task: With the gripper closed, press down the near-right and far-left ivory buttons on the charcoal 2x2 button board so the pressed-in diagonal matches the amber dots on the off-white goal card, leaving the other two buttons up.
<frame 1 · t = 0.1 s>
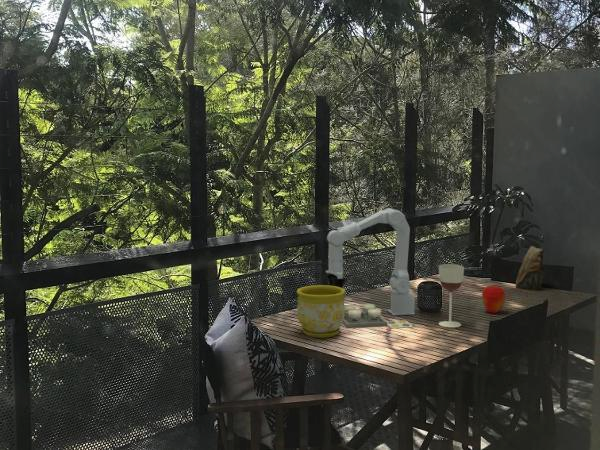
hand: (335, 292, 261), 10 cm above the table, fingers open, 7 cm apart
flower pot: (334, 311, 272), on the table
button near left: (374, 314, 250), point 4 cm above the table, slide at 0.0 cm
goal card: (398, 324, 249), on the table
wineglass: (450, 324, 250), on the table
button near right: (368, 309, 258), point 4 cm above the table, slide at 0.0 cm
flowerpot: (321, 333, 239), on the table
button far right: (349, 310, 257), point 4 cm above the table, slide at 0.0 cm
apple: (493, 312, 268), on the table
button board: (361, 321, 254), on the table
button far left: (354, 315, 249), point 4 cm above the table, slide at 0.0 cm
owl: (527, 288, 313), on the table
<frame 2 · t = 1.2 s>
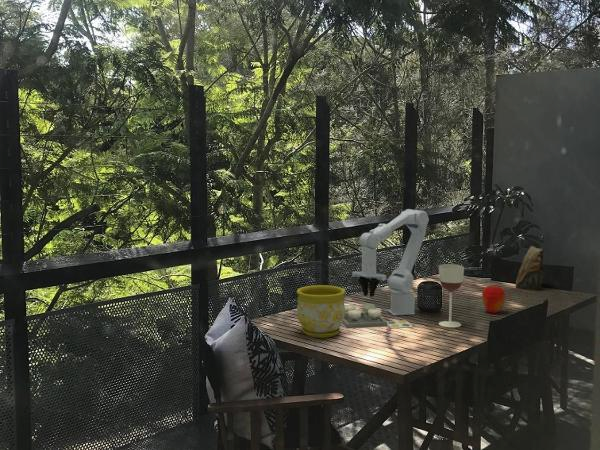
hand: (368, 295, 258), 9 cm above the table, fingers closed
nothing on the table moved.
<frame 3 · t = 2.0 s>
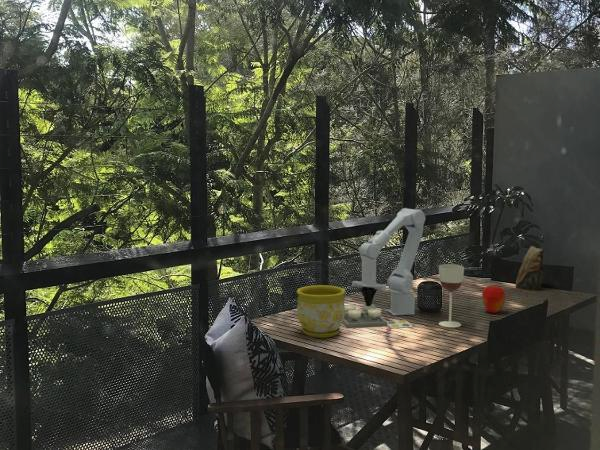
hand: (368, 305, 258), 5 cm above the table, fingers closed, pressing on button near right
button near right: (368, 309, 258), point 4 cm above the table, slide at -0.1 cm, touching gripper
everything else where it was.
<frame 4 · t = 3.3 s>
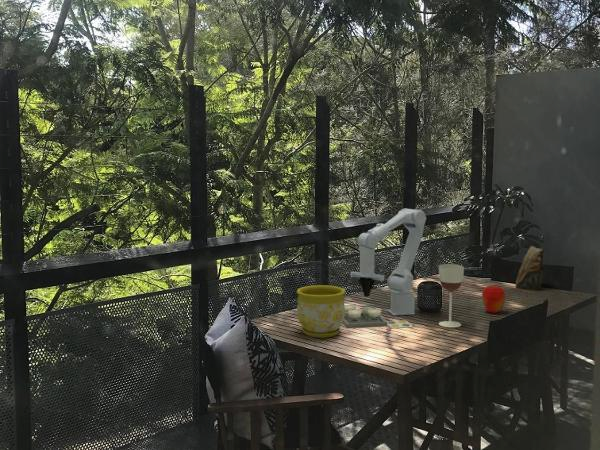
hand: (366, 296, 256), 10 cm above the table, fingers closed
button near right: (368, 312, 258), point 2 cm above the table, slide at -1.4 cm
everything else where it was.
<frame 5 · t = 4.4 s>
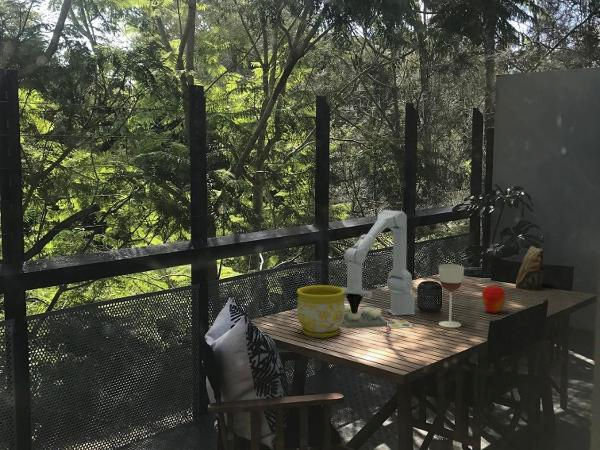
hand: (354, 312, 249), 5 cm above the table, fingers closed, pressing on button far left
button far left: (354, 317, 249), point 3 cm above the table, slide at -0.7 cm, touching gripper
everything else where it was.
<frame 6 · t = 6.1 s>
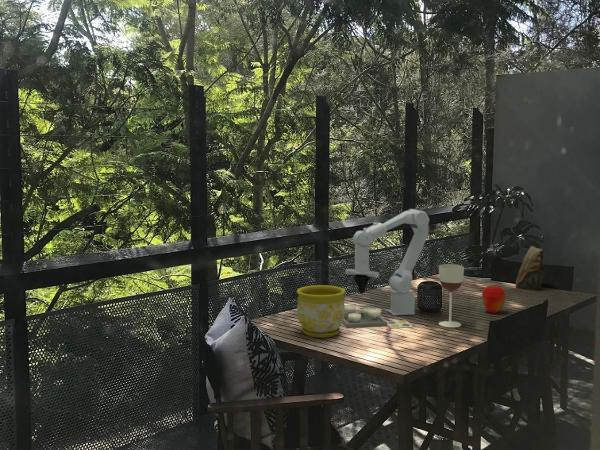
hand: (362, 293, 261), 10 cm above the table, fingers closed
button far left: (354, 319, 249), point 2 cm above the table, slide at -1.4 cm
everything else where it was.
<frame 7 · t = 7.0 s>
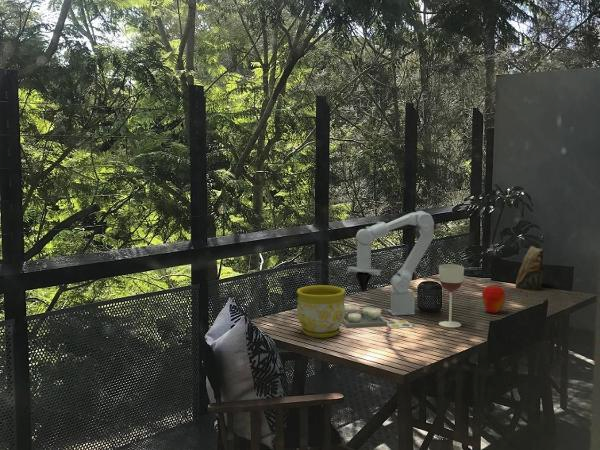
hand: (363, 290, 265), 10 cm above the table, fingers closed
nothing on the table moved.
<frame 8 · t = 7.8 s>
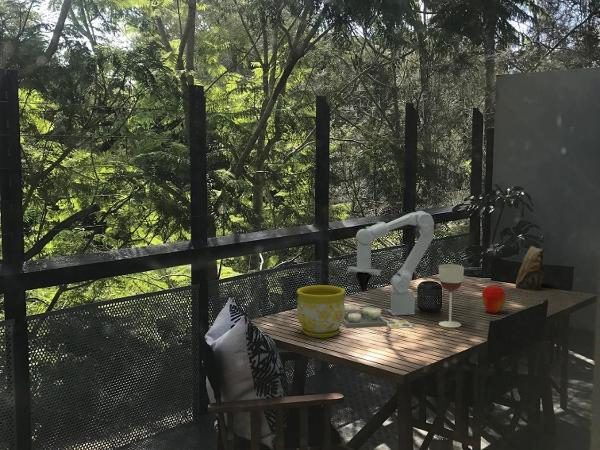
hand: (363, 290, 265), 10 cm above the table, fingers closed
nothing on the table moved.
at the end: button near right slide at -1.4 cm; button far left slide at -1.4 cm; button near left slide at 0.0 cm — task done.
